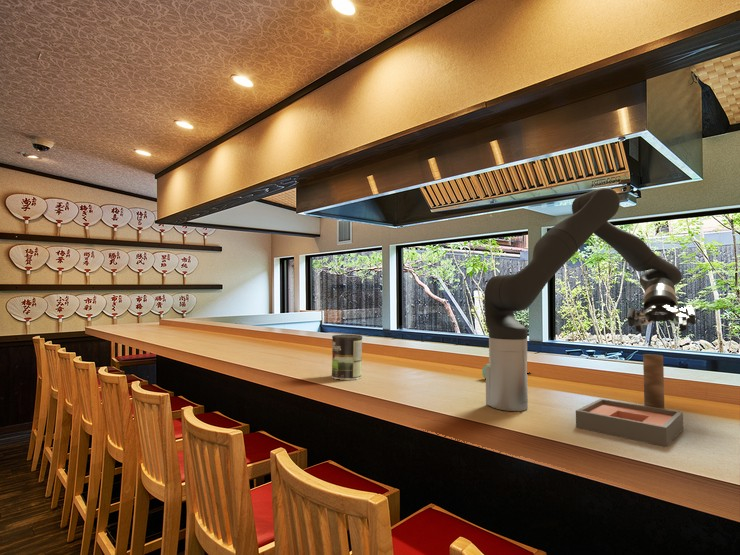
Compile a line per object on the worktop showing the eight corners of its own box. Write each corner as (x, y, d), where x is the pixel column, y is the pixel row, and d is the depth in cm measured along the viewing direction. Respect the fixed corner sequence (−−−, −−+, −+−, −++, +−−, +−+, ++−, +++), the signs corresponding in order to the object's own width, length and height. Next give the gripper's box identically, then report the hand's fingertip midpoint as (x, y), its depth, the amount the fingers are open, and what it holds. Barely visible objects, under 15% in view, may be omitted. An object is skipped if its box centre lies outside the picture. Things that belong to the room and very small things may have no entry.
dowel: (642, 413, 100) (641, 354, 101) (646, 410, 103) (645, 353, 103) (662, 417, 97) (661, 356, 98) (666, 414, 100) (664, 355, 101)
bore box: (575, 427, 89) (575, 410, 89) (600, 413, 100) (600, 398, 100) (666, 446, 77) (666, 427, 78) (683, 428, 89) (682, 412, 89)
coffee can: (338, 381, 135) (339, 337, 136) (327, 376, 144) (327, 335, 145) (367, 379, 140) (367, 336, 140) (354, 374, 149) (354, 334, 149)
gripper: (627, 291, 118) (624, 316, 106) (690, 286, 110) (695, 313, 97) (631, 315, 120) (628, 343, 108) (694, 312, 111) (698, 342, 99)
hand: (660, 329), depth 102 cm, fingers open, 8 cm apart
